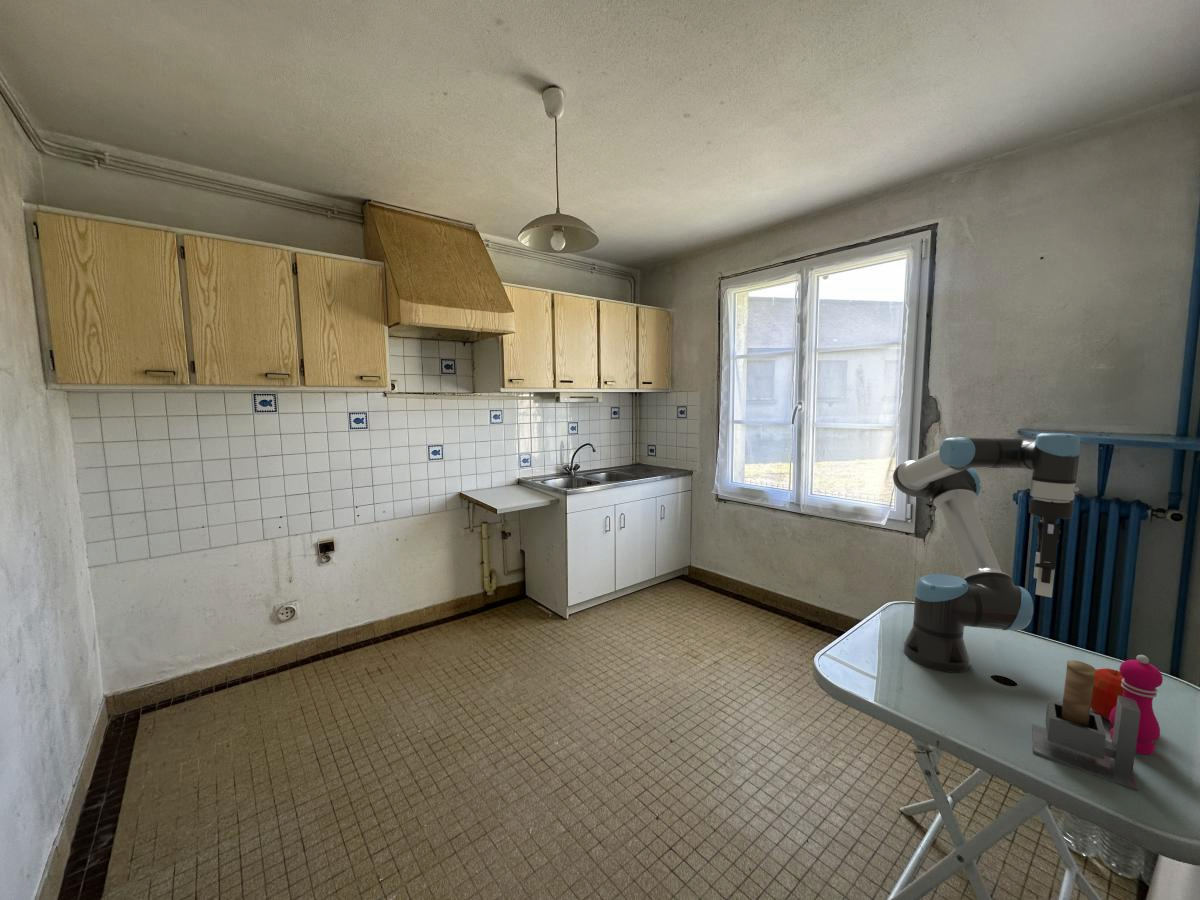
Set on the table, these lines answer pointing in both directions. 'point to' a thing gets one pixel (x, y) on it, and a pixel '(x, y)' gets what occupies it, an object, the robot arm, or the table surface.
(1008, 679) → the table surface
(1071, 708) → the brown cylinder
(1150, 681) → the pepper mill
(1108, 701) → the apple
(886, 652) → the table surface
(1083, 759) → the bracket
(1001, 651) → the table surface
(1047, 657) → the table surface
